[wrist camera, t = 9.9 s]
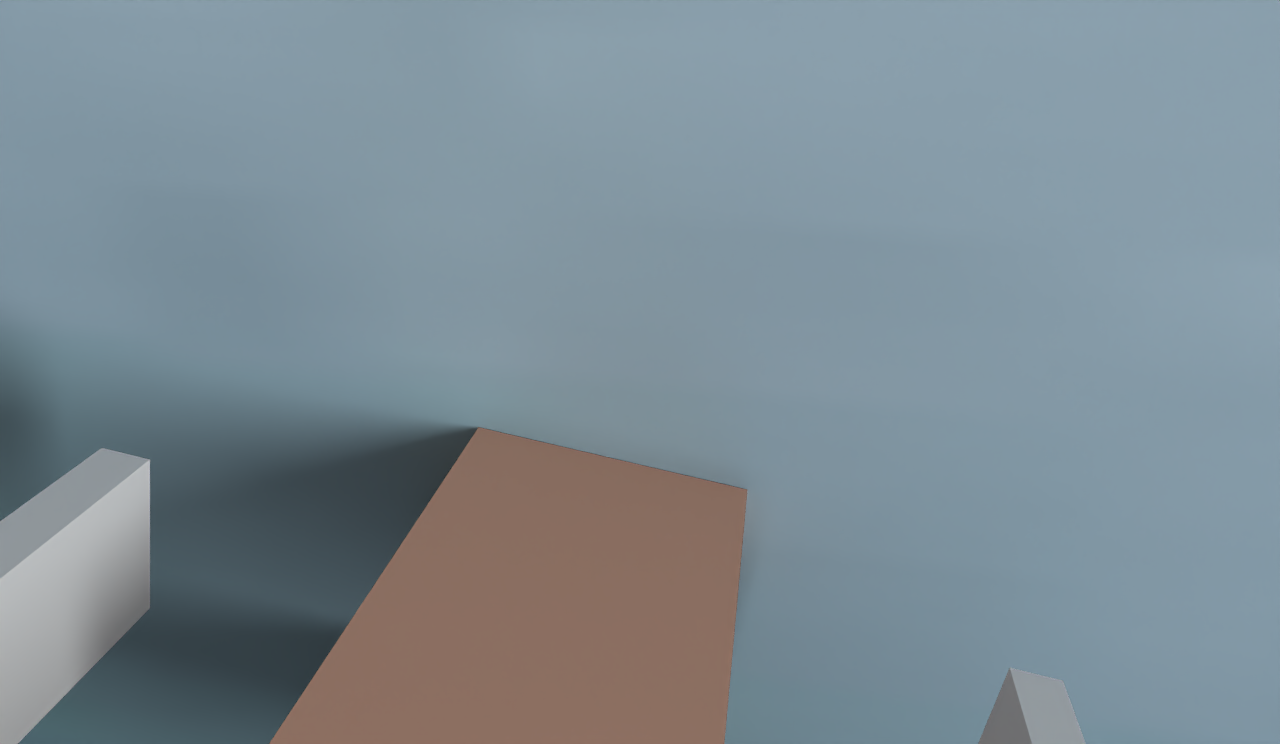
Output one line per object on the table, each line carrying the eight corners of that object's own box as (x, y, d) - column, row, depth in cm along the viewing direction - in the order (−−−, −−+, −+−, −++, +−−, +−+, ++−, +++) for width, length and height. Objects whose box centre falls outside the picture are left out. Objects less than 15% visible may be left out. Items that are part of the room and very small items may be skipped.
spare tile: (723, 580, 20) (670, 1046, 11) (465, 520, 20) (229, 929, 12) (747, 490, 19) (708, 917, 10) (478, 426, 19) (234, 795, 11)
